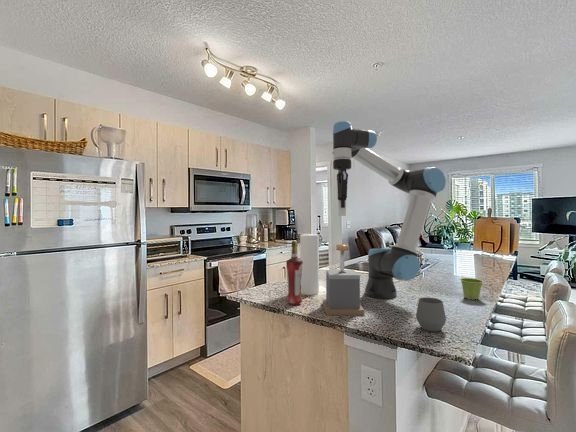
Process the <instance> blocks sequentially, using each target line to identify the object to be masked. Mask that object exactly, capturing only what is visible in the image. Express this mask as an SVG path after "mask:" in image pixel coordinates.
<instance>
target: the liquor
mask: <svg viewBox="0 0 576 432" xmlns="http://www.w3.org/2000/svg"><path fill="white" fill-rule="evenodd" d="M298 256H299V255H298V240H291V255H290V258H289V259H287V260H286V279H287V280H286V281H287V299H286V301H287V303H288V304H289V305H291V306H297V305H298V306H299V305H300V304H301V303H302V302H303V299H302V294H301V287H302V266H303V261H302V260H300V258H299V257H298Z"/></svg>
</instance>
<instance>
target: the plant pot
mask: <svg viewBox="0 0 576 432" xmlns="http://www.w3.org/2000/svg"><path fill="white" fill-rule="evenodd" d="M459 280H460V281H461V286H462V291H463V292H462V294H463V298H465V299H466V298H467V299H466V300H470V299H472V300H471V301H478V300H480V294H481V288H482V285H483V284H484V280H481V279H478V278H472V277H471V278H470V277H462V278H460V279H459ZM475 299H476V300H475ZM477 299H478V300H477Z"/></svg>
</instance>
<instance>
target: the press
mask: <svg viewBox="0 0 576 432" xmlns="http://www.w3.org/2000/svg"><path fill="white" fill-rule="evenodd" d="M325 272H326V273H325V274H326V275H325V276H326V279H325V280H326V281H325V283H326V284H325V285H326V291H325V293H326V294H325V295H326V296H325V299H323V298H322V307H323V309H324V311H325V315H326V316H365V309H364V307H363V306H362V305H361V301H360V300H361V295H360V294H361V291H360V290H361V275H360V274H359V272H357V271H356V270H355V269H344V273H340V269H326V271H325Z"/></svg>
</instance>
